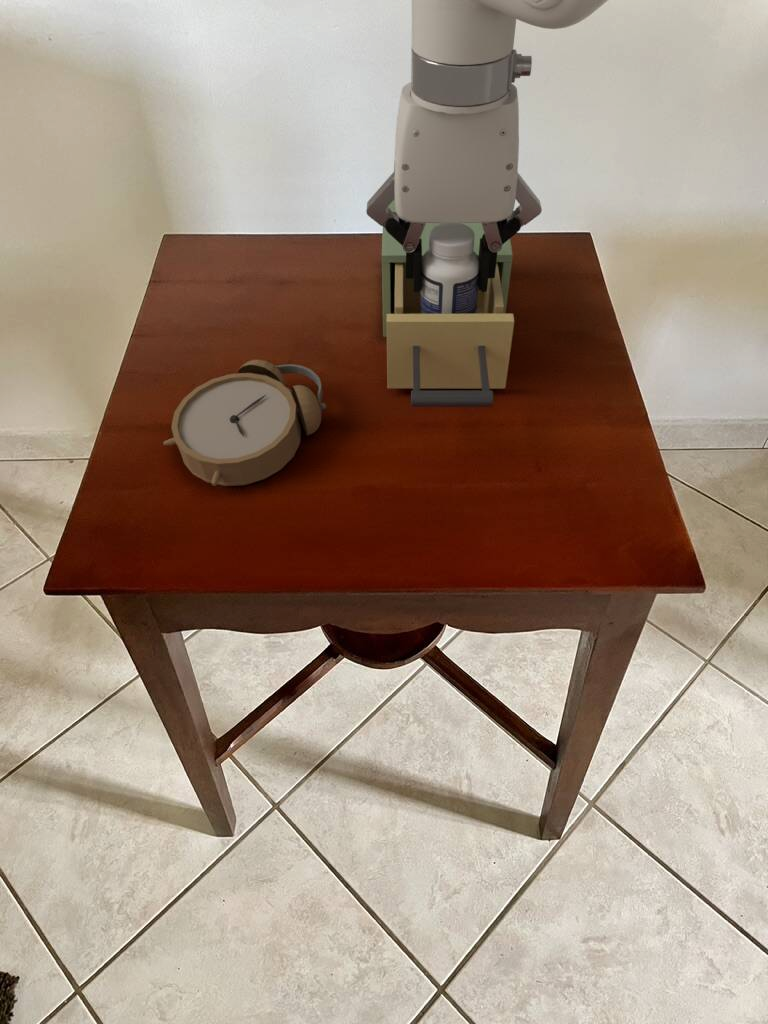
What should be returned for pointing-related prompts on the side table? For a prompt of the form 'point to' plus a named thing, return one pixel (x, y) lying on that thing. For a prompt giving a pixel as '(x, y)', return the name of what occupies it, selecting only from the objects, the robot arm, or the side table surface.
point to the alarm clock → (245, 423)
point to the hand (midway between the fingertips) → (449, 281)
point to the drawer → (448, 347)
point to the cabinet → (396, 253)
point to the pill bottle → (450, 271)
